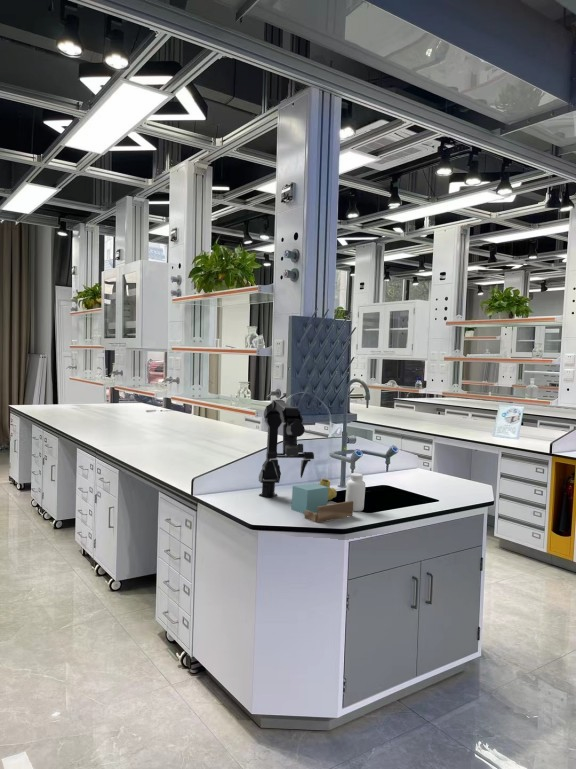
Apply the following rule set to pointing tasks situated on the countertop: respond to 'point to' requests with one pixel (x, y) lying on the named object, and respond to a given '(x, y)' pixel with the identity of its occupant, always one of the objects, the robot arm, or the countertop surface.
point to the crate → (309, 497)
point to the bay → (330, 512)
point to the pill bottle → (356, 491)
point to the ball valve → (331, 491)
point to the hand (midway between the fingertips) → (289, 477)
